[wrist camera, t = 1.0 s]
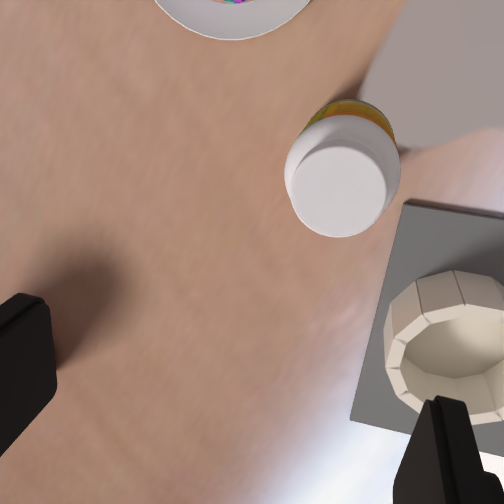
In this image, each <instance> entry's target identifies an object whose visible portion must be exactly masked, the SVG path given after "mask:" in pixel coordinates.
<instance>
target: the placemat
mask: <svg viewBox="0 0 504 504" xmlns="http://www.w3.org/2000/svg"><path fill="white" fill-rule="evenodd" d="M451 270H452V272H453V271H454V270H456V271H462V272H468V273H473V274H479V275H484V276H490V277H491V278H492V277H493V278H494V279H495V280H496V281H498V282H499V283H500V284H501V285H503V286H504V218H498V217H491V216H485V215H478V214H472V213H466V212H459V211H453V210H446V209H440V208H434V207H427V206H421V205H414V204H408V203H403V207H402V211H401V215H400V219H399V223H398V227H397V231H396V235H395V239H394V243H393V247H392V251H391V255H390V259H389V263H388V267H387V271H386V275H385V279H384V283H383V287H382V291H381V295H380V299H379V303H378V307H377V311H376V315H375V319H374V323H373V327H372V331H371V335H370V338H369V342H368V346H367V350H366V354H365V358H364V362H363V366H362V370H361V374H360V378H359V382H358V386H357V390H356V394H355V398H354V402H353V406H352V410H351V414H350V420H351V421H355V422H359V423H364V424H368V425H372V426H376V427H380V428H384V429H389V430H393V431H397V432H401V433H405V434H410V435H412V433H413V430H414V427H415V425H416V422H417V420H418V417H419V413H418V412H417V411H415V410H414V409H413V408H411V407H410V406H409V405H407V404H406V403H405V402H403V401H402V400H401V399H399V398H398V397H397V396H396V394H395V391H394V389H393V386H392V384H391V381H390V379H389V376H388V374H387V372H386V369H385V352H384V332H383V329H384V325H385V321H386V318H387V314H388V310H389V306H390V303H391V301H392V300H394V299H395V298H396V297H397V296H398V295H399V294H400V293H401V292H403V291H404V290H405V289H406V288H407V287H408V286H409V285H410V284H411V283H413V282H414V281H417V279H420V278H424V277H428V276H432V275H435V274H439V273H443V272H447V271H451ZM472 428H473V432H474V436H475V440H476V443H477V447H478V451H481V452H485V453H489V454H493V455H497V456H501V457H504V420H503V419H502V421H497V422H490V423H483V424H476V425H472Z"/></svg>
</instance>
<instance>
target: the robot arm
mask: <svg viewBox="0 0 504 504" xmlns="http://www.w3.org/2000/svg"><path fill="white" fill-rule="evenodd" d="M56 390H57V376H56V366H55V356H54V346H53V336H52V326H51V316H50V309H49V307H48V305H46V304H45V301H44V300H43V298H40V297H37V296H32V295H28V294H24V293H18V294H16V295H14V296H13V297H11V298H10V299H8V300H7V301H6V302H4V303H3V304H1V305H0V457H1V456H2V455H3V453H4V452H5V451H6V450H7V449H8V448H9V447H10V446H11V444H12V443H13V442H14V441H15V440H16V439H17V438H18V437H19V435H20V434H21V433H22V432H23V431H24V430H25V429H26V428H27V426H28V425H29V424H30V423H31V422H32V421H33V420H34V419H35V417H36V416H37V415H38V414H39V413H40V412H41V411H42V410H43V408H44V407H45V406H46V405H47V404H48V403H49V402H50V401H51V399H52V398H53V397H54V395H55V393H56ZM393 504H504V491H503V488H502V485H501V482H500V480H499V478H498V477H497V476H496V475H495V474H493V473H490V472H486V471H484V469H483V466H482V462H481V458H480V454H479V451H478V447H477V443H476V440H475V436H474V432H473V428H472V425H471V421H470V417H469V413H468V410H467V406H466V404H465V402H464V401H460V400H456V399H452V398H448V397H444V396H440V395H436V397H435V398H434V400H428V399H426V400H425V402H424V404H423V407H422V409H421V412H420V414H419V417H418V420H417V422H416V425H415V427H414V430H413V433H412V435H411V438H410V440H409V443H408V446H407V448H406V451H405V453H404V456H403V459H402V461H401V464H400V466H399V469H398V472H397V474H396V477H395V480H394V485H393Z"/></svg>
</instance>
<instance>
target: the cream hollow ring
mask: <svg viewBox="0 0 504 504" xmlns="http://www.w3.org/2000/svg"><path fill="white" fill-rule="evenodd" d="M383 332H384V352H385V369H386V372H387V374H388V376H389V379H390V381H391V384H392V386H393V389H394V391H395V394H396V396H397V397H398V398H399V399H401V400H402V401H403V402H405V403H406V404H407V405H409V406H410V407H411V408H413V409H414V410H415V411H417V412H418V413H419V414H420V412H421V409H422V407H423V404H424V402H425V400H426V399H428V400H434V398H435V397H436V395H440V396H444V397H448V398H452V399H456V400H460V401H464V402H465V404H466V406H467V410H468V413H469V417H470V421H471V425H476V424H483V423H490V422H497V421H502V419H503V420H504V286H503V285H501V284H500V283H499V282H498V281H496V280H495V279H494V278H493V277H492V278H491V277H490V276H484V275H479V274H473V273H468V272H462V271H456V270H454V271H453V272H452V270H451V271H447V272H443V273H439V274H435V275H432V276H428V277H424V278H420V279H417V281H414V282H413V283H411V284H410V285H409V286H408V287H407V288H406V289H405V290H404V291H403V292H401V293H400V294H399V295H398V296H397V297H396V298H395V299H394V300H392V301H391V303H390V306H389V310H388V314H387V318H386V321H385V325H384V329H383Z"/></svg>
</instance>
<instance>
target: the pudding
mask: <svg viewBox="0 0 504 504" xmlns="http://www.w3.org/2000/svg"><path fill="white" fill-rule="evenodd" d="M225 1H226V2H233V3H240V2H243V1H246V0H225ZM309 1H310V0H253V1H251V2H246V3H241V4H223V3H218V2H214V1H211V0H155V2H156V3H157V4H158V6H159V7H161V8H162V9H163V10H164V11H165V12H166V13H167V14H168V15H169V16H170V17H171V18H172V19H173V20H175V21H176V22H178V23H179V24H181V25H182V26H184V27H185V28H187V29H189V30H191V31H193V32H195V33H198V34H200V35H202V36H205V37H210V38H214V39H219V40H243V39H248V38H254V37H258V36H260V35H263V34H265V33H268V32H270V31H273V30H275V29H277V28H278V27H280V26H281V25H283V24H284V23H286V22H288V21H289V20H291V19H292V18H293V17H294V16H295V15H296V14H297V13H299V12H300V11H301V10H302V9H303V8H304V7H305V6H306V5H307V4H308V3H309Z"/></svg>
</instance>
